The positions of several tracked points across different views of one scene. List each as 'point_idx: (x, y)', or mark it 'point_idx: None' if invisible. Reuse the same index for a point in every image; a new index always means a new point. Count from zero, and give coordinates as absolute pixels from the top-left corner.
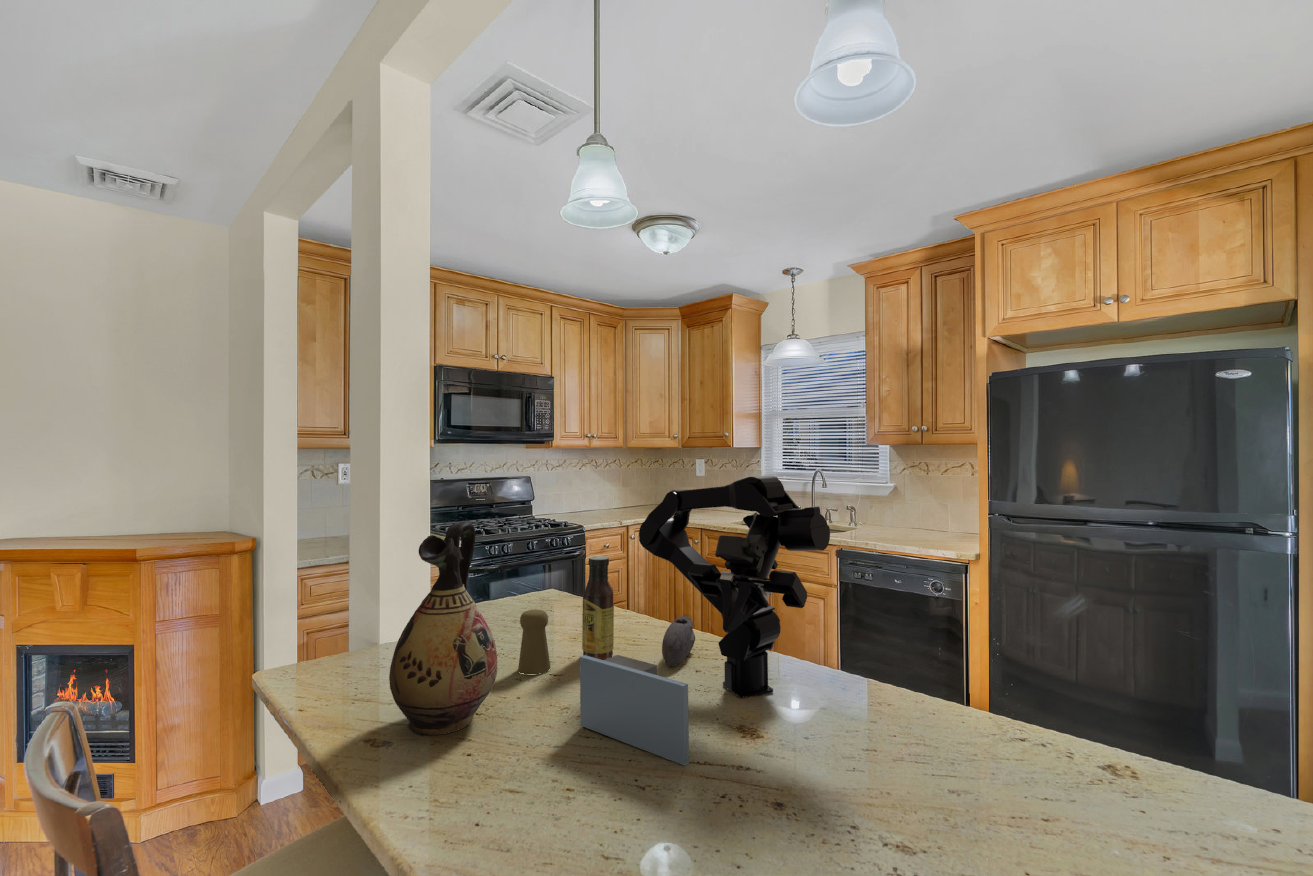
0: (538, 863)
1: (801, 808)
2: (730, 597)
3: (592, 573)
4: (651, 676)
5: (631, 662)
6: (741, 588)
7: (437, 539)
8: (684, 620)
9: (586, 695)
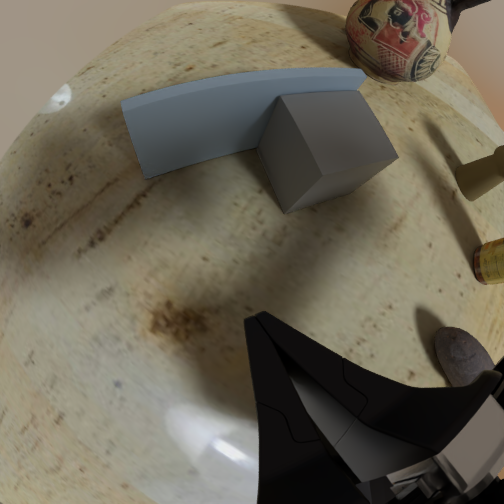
0: (120, 39)
1: (12, 238)
2: (358, 411)
3: None
4: (204, 80)
5: (355, 148)
6: (320, 491)
7: None
8: None
9: None
